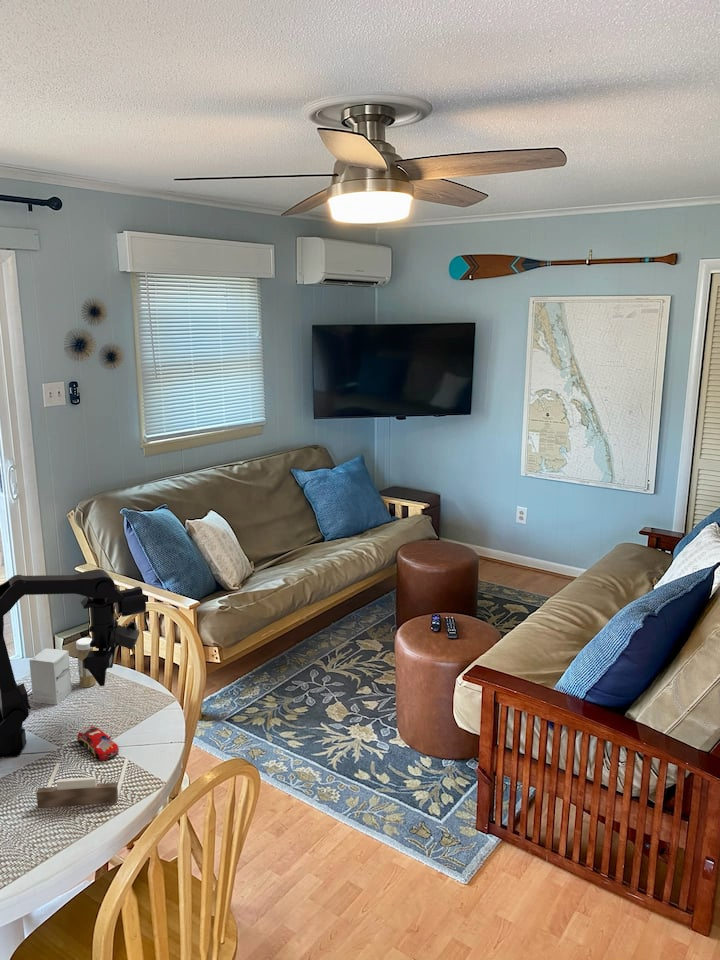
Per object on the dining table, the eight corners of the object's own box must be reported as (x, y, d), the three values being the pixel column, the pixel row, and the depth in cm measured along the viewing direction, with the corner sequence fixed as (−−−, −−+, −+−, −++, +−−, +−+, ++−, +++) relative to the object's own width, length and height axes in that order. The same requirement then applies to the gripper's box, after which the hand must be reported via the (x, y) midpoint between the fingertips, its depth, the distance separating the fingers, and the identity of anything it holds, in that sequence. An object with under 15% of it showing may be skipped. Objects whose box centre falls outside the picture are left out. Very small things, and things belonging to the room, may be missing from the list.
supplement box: (56, 705, 195) (53, 662, 192) (32, 702, 197) (28, 659, 194) (72, 691, 202) (69, 650, 199) (48, 688, 204) (45, 647, 201)
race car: (122, 755, 175) (121, 741, 174) (101, 766, 171) (100, 751, 170) (95, 733, 184) (94, 719, 183) (75, 742, 180) (73, 728, 179)
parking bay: (37, 808, 156) (35, 784, 155) (56, 764, 171) (54, 741, 170) (116, 802, 159) (115, 778, 157) (128, 759, 173) (127, 737, 172)
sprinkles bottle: (95, 687, 205) (92, 643, 202) (78, 688, 204) (74, 645, 201) (97, 679, 209) (94, 636, 206) (80, 680, 208) (77, 637, 205)
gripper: (128, 635, 174) (131, 694, 177) (142, 604, 192) (145, 658, 195) (80, 637, 172) (84, 696, 176) (98, 605, 190) (102, 659, 194)
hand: (106, 676), depth 185 cm, fingers open, 9 cm apart
